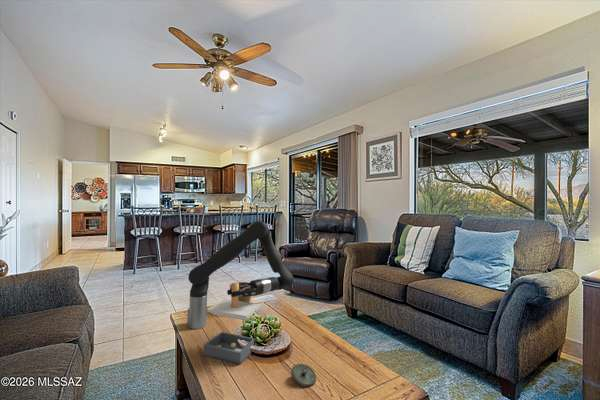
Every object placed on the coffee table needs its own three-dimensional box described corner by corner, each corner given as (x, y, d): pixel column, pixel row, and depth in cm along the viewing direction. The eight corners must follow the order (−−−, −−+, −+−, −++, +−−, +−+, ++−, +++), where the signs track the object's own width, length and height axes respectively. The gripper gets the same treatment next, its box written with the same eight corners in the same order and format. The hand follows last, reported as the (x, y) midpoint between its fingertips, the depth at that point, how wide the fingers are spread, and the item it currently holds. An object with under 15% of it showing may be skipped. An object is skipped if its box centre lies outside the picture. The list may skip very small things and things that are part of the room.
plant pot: (254, 306, 193) (255, 282, 193) (248, 315, 179) (249, 289, 179) (233, 304, 195) (234, 281, 195) (225, 313, 180) (226, 287, 180)
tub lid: (206, 315, 131) (207, 285, 131) (224, 304, 145) (225, 277, 145) (246, 322, 126) (247, 290, 126) (260, 310, 140) (261, 281, 140)
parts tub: (203, 355, 131) (203, 344, 131) (221, 341, 144) (221, 331, 144) (240, 364, 125) (240, 353, 125) (255, 349, 138) (255, 338, 138)
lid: (301, 369, 123) (302, 357, 123) (321, 378, 117) (321, 366, 117) (285, 380, 115) (286, 368, 115) (305, 391, 109) (306, 378, 109)
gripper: (252, 276, 150) (222, 282, 138) (268, 282, 140) (238, 289, 128) (251, 290, 150) (221, 297, 139) (268, 297, 140) (237, 306, 128)
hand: (229, 293), depth 133 cm, fingers closed on tub lid, 3 cm apart
